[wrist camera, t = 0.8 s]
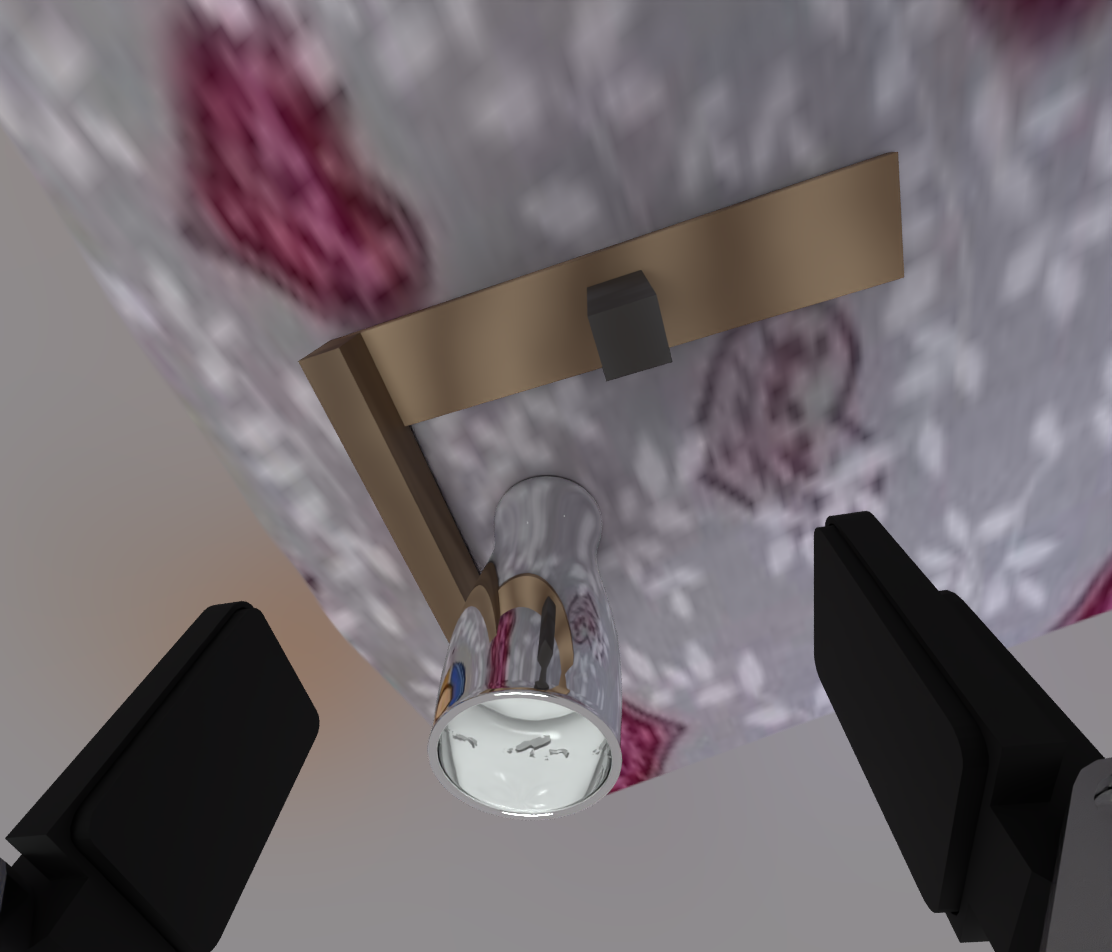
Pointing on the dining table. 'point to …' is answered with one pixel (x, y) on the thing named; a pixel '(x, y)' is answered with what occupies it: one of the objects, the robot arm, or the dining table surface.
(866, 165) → the brown wooden bent piece
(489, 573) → the beer glass
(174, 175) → the dining table surface
